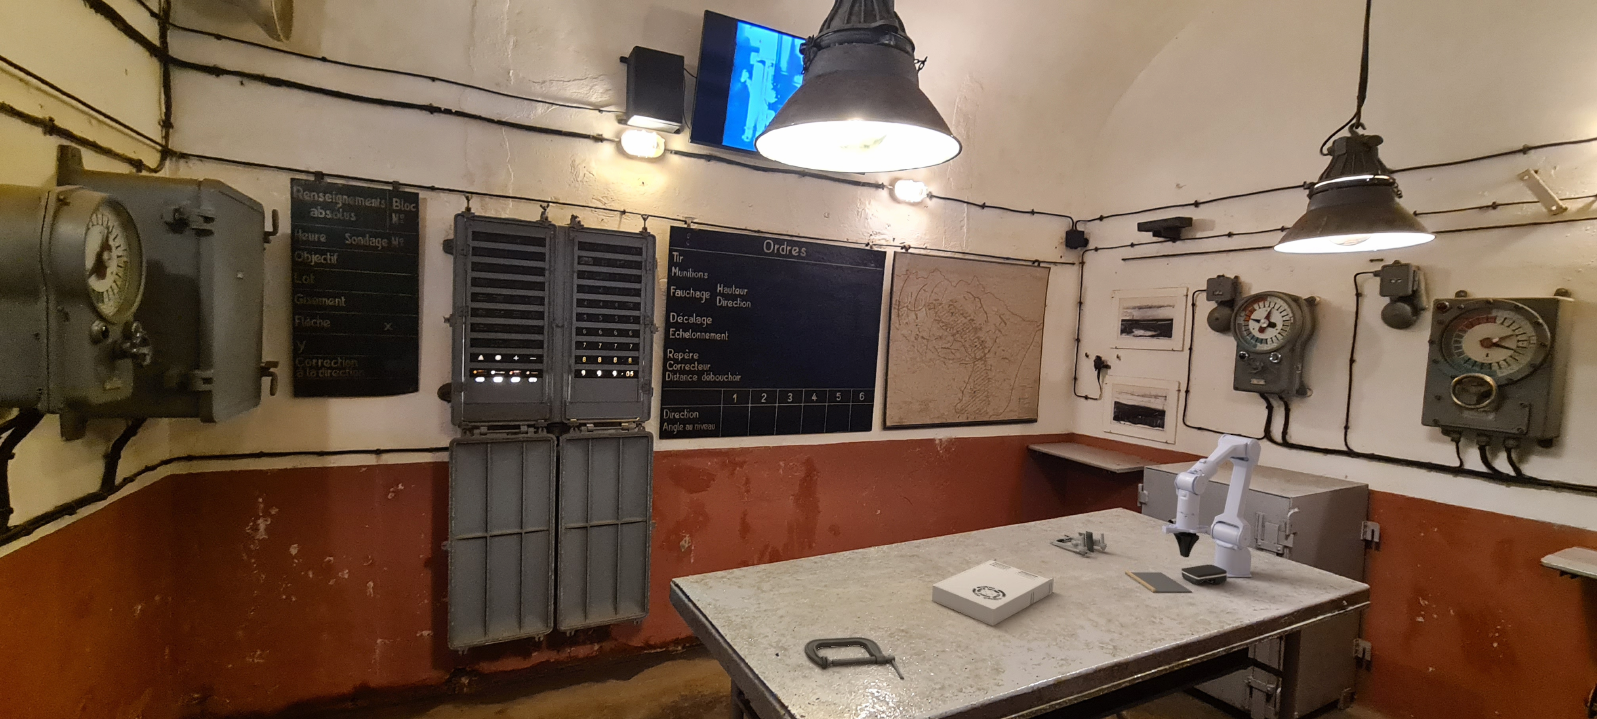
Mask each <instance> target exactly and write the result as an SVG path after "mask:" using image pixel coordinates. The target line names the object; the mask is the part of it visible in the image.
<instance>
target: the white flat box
mask: <svg viewBox="0 0 1597 719" xmlns="http://www.w3.org/2000/svg"><path fill="white" fill-rule="evenodd" d="M1054 581H1055V580H1054V577H1051V578H1046V577H1043V576H1041V575H1037V574H1035V573H1032V572H1028V571H1026V570H1022V569H1019V568H1017V567H1014V566H1011V565H1008V564H1004V563H1002V562H998V561H997V559H996V558H992V559H990V560H987V561H985V562H982V563H980V564H978V565H976V566H974V567H972V568H971V567H970V568H969V569H967V570H964V571H962V572H959V573H957V574H955V575H951V576H949V577H947V578H945V579H943V580H941V581H937V582H936V583H934V584H932V588H931V590H932V591H931V601H932V602H934V601H935V602H934V603H936V604H940V605H942V606H944V607H946V608H949V609H951V608H952V610H953V609H954V611H956V612H958V613H960V612H961V613H960V614H963V615H966V616H967V617H971V618H973V619H975V620H977V621H979V622H983V623H984V624H987V625H989V626H995V625H997V624H999V623H1001V622H1002V621H1004V620H1006V619H1007V618H1010V617H1011V616H1013V615H1015V614H1017V613H1019V612H1020V611H1022V610H1024V609H1025V608H1027V607H1029V606H1031V605H1033V604H1035V603H1036V602H1038V601H1041V600H1042V599H1043V598H1045V597H1048V596H1049V595H1051V594H1052V593H1053V592H1054ZM988 587H989V588H988Z"/></svg>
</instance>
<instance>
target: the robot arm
mask: <svg viewBox="0 0 1597 719" xmlns="http://www.w3.org/2000/svg"><path fill="white" fill-rule="evenodd" d="M1261 452H1262V447H1261V444H1260V442H1259V441H1258V439H1256V438H1249V437H1244V436H1240V435H1234V434H1233V435H1231V434H1229V433H1223V434H1222V435H1221V437H1219V438H1218V441H1217V447H1216V448H1215V449H1214V451H1212V453H1211V454H1210V455H1209V456H1208V457H1207V458H1200V459H1199V460H1198V461H1197V462H1195V464H1194V465H1193V466H1191V467H1190V468H1189V469H1188V470H1187V471H1182V472H1179V473H1178V474H1177V475H1176V477H1175V480H1174V482H1173V483H1174V487H1175V491H1176V492H1175V493H1176V494H1175V495H1176V496H1177V505H1176V519H1175V523H1173V524H1168V525H1166V524H1165V525H1162V526H1161V532H1162V533H1163V534H1166V535H1167V534H1168V535H1169V534H1173V535H1174V538H1175V541H1176V542H1177V545H1178V549H1179V554H1180V556H1181V557H1183V558H1189V557H1190V554H1191V552H1192V550H1193V548H1194V546H1195V544H1196V543H1197V542H1198V541H1199V539H1200V534H1206V535H1207V534H1208V535H1210V537H1211V539H1212V540H1213V543H1215V547H1214V548H1215V549H1214V559H1213V560H1214V561H1213V565H1215V566H1217V567H1220V568H1222V569H1224V570H1226V571H1227V578H1253V575H1252V574H1251V566H1252V553H1251V550H1250V549H1249V548H1248V546H1249V545H1250V543H1251V540H1252V536H1251V535H1252V534H1251V530H1252V526H1251V525H1250V523H1249V522H1248V521H1247V520H1246V519H1245V518H1244V513H1245V508H1246V503H1247V499H1248V494H1249V490H1250V486H1251V480H1252V477H1253V471H1254V468H1255V467H1256V466H1258V463H1259V460H1260V456H1261ZM1228 460H1229V461H1230V462H1231V463H1232V464H1233V468H1232V473H1231V477H1230V481H1229V482H1230V483H1229V487H1228V491H1227V492H1228V493H1227V495H1226V502H1225V506H1224V510H1223V512H1222V513H1221V514H1219V515H1216V516H1214V519H1213V522H1212V524H1211V525H1210V526H1208V525H1201V524H1200V525H1199V517H1200V515H1199V514H1200V503H1201V495H1202V494H1204V492H1205V490H1206V487H1207V486H1208V484H1209V481H1210V480H1211V479H1212V478H1214V476H1216V475H1217V474H1218V471H1219V470H1218V467H1219V466H1221V465H1222V464H1224V463H1225V462H1226V461H1228ZM1198 534H1199V535H1198Z"/></svg>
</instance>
